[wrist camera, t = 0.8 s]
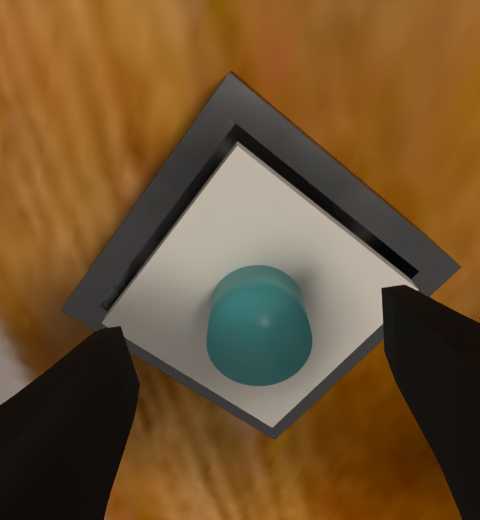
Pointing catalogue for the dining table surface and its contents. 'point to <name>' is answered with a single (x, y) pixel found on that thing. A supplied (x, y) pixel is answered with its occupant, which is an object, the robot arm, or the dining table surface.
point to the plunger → (255, 290)
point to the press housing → (295, 172)
